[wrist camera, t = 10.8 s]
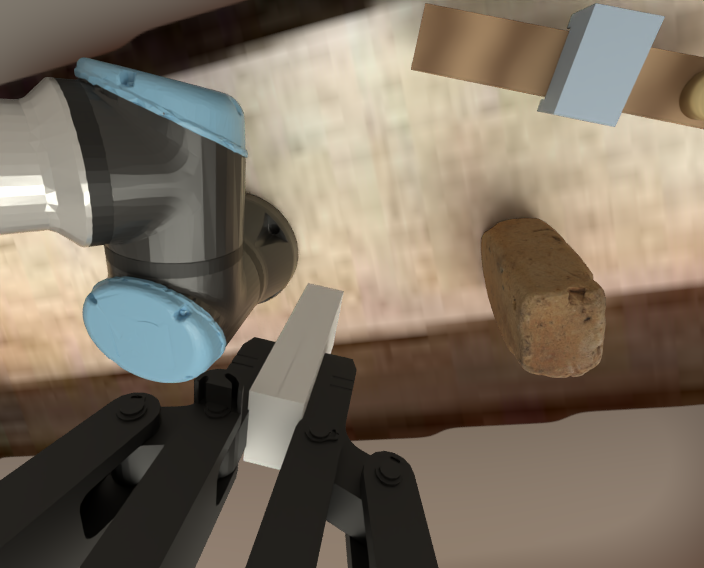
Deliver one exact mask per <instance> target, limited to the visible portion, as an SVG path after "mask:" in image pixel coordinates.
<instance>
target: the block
mask: <svg viewBox="0 0 704 568" xmlns="http://www.w3.org/2000/svg"><path fill="white" fill-rule="evenodd" d="M481 253H482V267H483V273H484V278H485V284H486V289H487V293H488V298H489V301H490V304H491V308H492V311H493V314H494V317H495V320H496V323H497V325H498V328H499V330H500V333H501V335H502V337H503V339H504V341H505V343H506V345H507V347H508V349H509V350H510V351H511V352H512V353H513V354H515V356H516V358H517V360H518V362H519V363H520V365H521V366H522V367H523V368H524V369H525V370H526V371H528V372H530V373H533V374H537V375H545V376H548V377H553V378H566V377H568V376H573V377H577V376H581V375H583V374H584V373H586V372H588V371H589V370H590V369H592V368H594V367H595V366H596V365H597V364H599V363H600V360H601V357H602V351H603V340H604V331H605V326H606V319H605V308H606V297H605V293H604V290H603V289H602V287H601V286H600V285H599V284H598V283H597V282H595V281H594V280H593V274H592V273H591V271H590V270H589V268H588V267H587V266H586V264H585V263H584V262H583V260H582V259H581V258H580V257H579V255H578V254H577V253H576V252H575V251H574V250H573V249H572V248H571V247H570V246H569V245H568V244H567V243H566V242H565V240H564V239H563V238H562V237H561V236H560V235H559V234H558V233H557V232H556V231H555V230H554V229H553V228H552V227H551V226H549V225H548V224H547V223H545V222H544V221H542V220H540V219H537V218H531V219H529V218H520V219H510V220H505V221H502V222H499V223H497V224H496V226H495V227H493V228H491V229H490V230H488V231H486V232H485V233H484V234H483V236H482V242H481Z"/></svg>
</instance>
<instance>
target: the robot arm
mask: <svg viewBox="0 0 704 568" xmlns="http://www.w3.org/2000/svg"><path fill="white" fill-rule="evenodd" d="M74 72H75V76H77V77H78V79H77V80H71V79H60V78H49V77H46V78H44V79H43V80H42V81H41V82H40V83H39V84H38V85H37V86H35V87H34V88H33V89H32V90H31V91H30V92H29V93H28V94H27V95H26V96H25V97H24V98H22V99H17V100H11V99H0V235H4V234H14V233H24V232H34V231H44V230H50V231H54V232H57V233H59V234H61V235H63V236H64V237H66V238H67V239H69V240H71V241H72V242H74V243H76V244H77V245H79V246H81V247H90V246H98V245H104V248H105V255H106V262H107V269H108V278H106V279H104V280H102V281H100V282H98V283H97V284H96V285H95V286H94V287H93V290H92V291H91V293H90V294H89V295H88V296H87V297H86V299H85V302H84V305H83V320H84V324H85V327H86V329H87V332H88V334H89V336H90V337H91V339H92V340H93V342H94V343H95V344H96V346H97V347H98V348H99V349H100V350H101V351H102V352H103V353H104V354H105V355H106V356H107V357H108V358H109V359H111V360H113V361H114V362H115V363H117V364H118V365H119V366H120V367H121V368H123V369H125V370H127V371H128V372H130V373H132V374H135V375H137V376H139V377H142V378H145V379H148V380H152V381H157V382H164V383H178V382H184V381H188V380H191V379H193V378H195V377H197V376H198V377H197V378H196V379H194V404H192V405H188V406H178V407H161V406H160V403H159V400H158V399H157V398H155V397H154V396H153V395H150V394H147V393H131V394H127V395H123V396H121V397H119V398H117V399H115V400H113V401H112V402H110V403H109V404H107V405H106V406H105V407H103V408H102V409H100V410H99V411H98V412H96V413H95V414H93V415H92V416H91V417H89V418H88V419H86V420H85V421H83V422H82V423H81V424H79V425H78V426H76V427H75V428H74V429H72V430H71V431H69V432H68V433H67V434H65V435H64V436H62V437H61V438H59V439H58V440H57V441H55V442H54V443H52V444H51V445H50V446H48V447H47V448H45V449H44V450H42V451H41V452H40V453H38V454H37V455H35V456H34V457H33V458H31V459H30V460H28V461H27V462H26V463H24V464H23V465H22V466H20V467H19V468H17V469H16V470H14V471H13V472H11V473H10V474H9V475H7V476H6V477H4V478H3V479H2V480H0V568H79V567H80V568H195V567H196V564H197V562H198V560H199V558H200V556H201V553H202V551H203V549H204V547H205V545H206V542H207V540H208V538H209V536H210V534H211V531H212V529H213V527H214V525H215V523H216V520H217V518H218V516H219V514H220V512H221V510H222V507H223V505H224V503H225V501H226V499H227V496H228V494H229V492H230V490H231V488H232V485H233V483H234V481H235V479H236V475H237V471H238V462H239V460H240V458H241V456H242V454H243V451H244V461H248V462H252V463H255V464H259V465H263V466H267V467H271V468H275V469H279V470H280V472H279V475H278V477H277V480H276V483H275V486H274V489H273V492H272V494H271V497H270V500H269V503H268V506H267V508H266V511H265V514H264V517H263V520H262V522H261V525H260V528H259V531H258V534H257V537H256V539H255V542H254V545H253V548H252V551H251V554H250V556H249V559H248V562H247V565H246V567H245V568H316V566H317V561H318V556H319V551H320V546H321V542H322V537H323V532H324V527H325V522H326V520H327V521H328V522H329V523H331V524H332V525H334V526H336V527H337V528H338V529H340V530H341V531H343V532H345V534H346V535H345V536H346V550H347V562H348V568H438V564H437V560H436V557H435V553H434V549H433V545H432V541H431V537H430V533H429V529H428V525H427V522H426V518H425V514H424V510H423V506H422V502H421V499H420V495H419V491H418V487H417V483H416V479H415V475H414V473H413V471H412V468H411V466H410V465H409V464H408V463H407V461H406V460H405V459H404V458H402V457H400V456H399V455H397V454H395V453H392V452H387V451H381V452H375V453H374V454H372V455H369V454H367V453H365V452H364V451H362V450H360V449H359V448H357V447H356V446H355V445H354V444H353V443H352V442H351V441H350V439H349V438H348V436H347V433H346V430H345V425H346V419H347V414H348V409H349V404H350V399H351V395H352V390H353V385H354V380H355V375H356V367H355V364H354V362H353V359H349V358H345V357H341V356H337V355H332V354H331V351H332V347H333V344H334V339H335V333H336V328H337V323H338V318H339V313H340V308H341V303H342V298H343V293H344V291H341V290H336V289H332V288H327V287H323V286H319V285H314V284H310V283H308V284H307V286H306V288H305V290H304V292H303V293H302V295H301V297H300V299H299V301H298V303H297V304H296V306H295V308H294V310H293V312H292V314H291V315H290V317H289V319H288V321H287V323H286V325H285V326H284V328H283V330H282V332H281V334H280V336H279V337H278V339H277V341H276V342H273V341H269V340H265V339H260V338H256V337H254V338H252V339H251V340H249V341H248V342H246V343H244V344H243V345H242V347H241V348H240V350H239V351H238V353H237V355H236V356H235V357H234V359H233V360H232V363H230V365H229V366H228V368H227V369H215V370H209V371H206V370H207V369H208V368H209V367H210V366H211V365H212V364H213V363H214V362H215V361H216V360H217V359H218V358H220V357H221V355H222V354H223V353H224V350H225V347H226V346H227V344H228V343H229V342H230V340H231V339H232V338H233V336H234V335H235V333H236V332H237V331H238V329H239V328H240V326H241V325H242V324H243V322H244V321H245V319H246V318H247V317H248V315H249V314H250V312H251V311H252V310H253V308H254V307H255V306H256V305H257V304H260V303H263V302H266V301H268V300H270V299H272V298H274V297H275V296H277V295H278V294H279V293H280V292H281V291H282V290H283V289H284V288H285V287H286V285H287V284H288V282H289V281H290V279H291V278H292V276H293V274H294V272H295V270H296V266H297V261H298V247H297V242H296V238H295V235H294V233H293V230H292V228H291V227H290V225H289V223H288V222H287V220H286V219H285V218H284V216H283V215H282V214H281V213H280V212H279V211H278V210H277V209H276V208H275V207H273V206H272V205H271V204H269V203H268V202H266V201H264V200H263V199H261V198H258V197H256V196H253V195H250V194H245V166H246V157H248V152H247V151H246V149H245V121H244V113H243V110H242V108H241V106H240V105H239V103H238V102H237V101H236V100H235V99H234V98H233V97H231V96H230V95H228V94H225V93H222V92H219V91H215V90H211V89H208V88H204V87H200V86H196V85H192V84H188V83H185V82H181V81H177V80H173V79H169V78H165V77H161V76H157V75H153V74H150V73H146V72H142V71H138V70H134V69H130V68H126V67H122V66H118V65H113V64H109V63H105V62H101V61H97V60H93V59H89V58H80V59H79V60H78V62H77V67H76V68H75V69H74ZM205 371H206V372H205Z"/></svg>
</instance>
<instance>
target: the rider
mask: <svg viewBox="0 0 704 568" xmlns="http://www.w3.org/2000/svg"><path fill="white" fill-rule="evenodd" d="M664 18H665V16H660V15H654V14H649V13H644V12H639V11H634V10H628V9H623V8H618V7H613V6H608V5H602V4H597V3H595V4H593V5H591V6H589V7H587V8H585V9H583V10H580V11H578V12H576V13H574V14H572V16H571V19H570V21H569V24H568V27H567V28H568V29H570V31H569V34H568V36H567V39H566V42H565V45H564V47H563V50H562V53H561V55H560V58H559V61H558V64H557V66H556V69H555V72H554V75H553V77H552V80H551V83H550V85H549V88H548V91H547V94H546V96H545V99H544V100H542V99H541V101H540V104H539V107H538V109H537V111H539V112H544V113H548V114H553V115H558V116H563V117H568V118H573V119H578V120H583V121H588V122H593V123H598V124H603V125H608V126H613V127H615V126H616V124H617V121H618V119H619V117H620V115H621V113H622V110H623V108H624V106H625V104H626V102H627V99H628V97H629V95H630V93H631V90H632V88H633V86H634V84H635V82H636V79H637V77H638V75H639V73H640V71H641V68H642V66H643V64H644V62H645V60H646V57H647V55H648V53H649V51H650V49H651V46H652V44H653V42H654V40H655V37H656V35H657V33H658V31H659V29H660V26H661V24H662V22H663V20H664Z"/></svg>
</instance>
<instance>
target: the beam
mask: <svg viewBox="0 0 704 568" xmlns="http://www.w3.org/2000/svg"><path fill="white" fill-rule="evenodd" d="M568 34H569V31H565V30H560V29H555V28H550V27H545V26H539V25H534V24H529V23H524V22H519V21H514V20H509V19H504V18H499V17H493V16H488V15H483V14H478V13H473V12H468V11H463V10H458V9H453V8H447V7H442V6H437V5H432V4H427V3H425V8H424V12H423V17H422V21H421V26H420V30H419V35H418V39H417V44H416V48H415V53H414V58H413V62H412V67H411V70H415V71H420V72H425V73H430V74H435V75H439V76H444V77H449V78H454V79H459V80H464V81H469V82H474V83H479V84H484V85H489V86H494V87H499V88H503V89H508V90H513V91H518V92H523V93H528V94H533V95H538V96H543V97H545V96H546V94H547V91H548V88H549V85H550V83H551V80H552V77H553V75H554V72H555V69H556V66H557V64H558V61H559V58H560V55H561V53H562V50H563V47H564V45H565V42H566V39H567V36H568ZM622 113H627V114H631V115H636V116H641V117H646V118H651V119H656V120H661V121H666V122H671V123H676V124H681V125H686V126H691V127H695V128H700V129H704V58H703V57H698V56H693V55H688V54H683V53H678V52H672V51H667V50H662V49H657V48H652V47H651V49H650V51H649V53H648V55H647V57H646V60H645V62H644V64H643V66H642V68H641V71H640V73H639V75H638V77H637V79H636V82H635V84H634V86H633V88H632V90H631V93H630V95H629V97H628V99H627V102H626V104H625V106H624V108H623V110H622Z"/></svg>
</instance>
